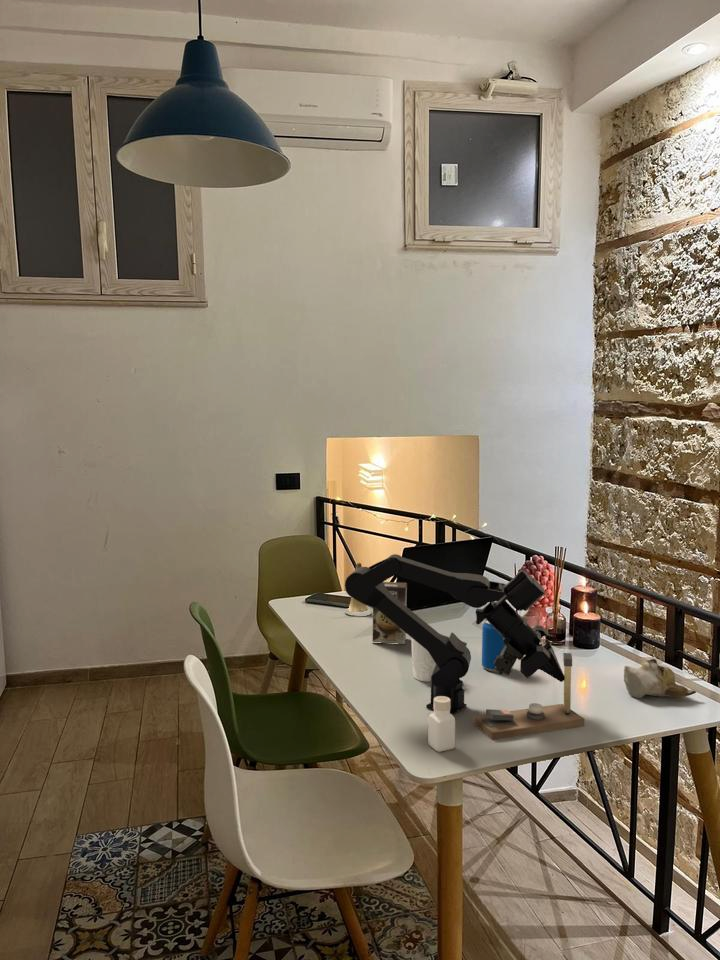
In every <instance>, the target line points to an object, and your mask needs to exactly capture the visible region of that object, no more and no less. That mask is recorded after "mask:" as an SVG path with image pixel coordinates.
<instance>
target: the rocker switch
mask: <svg viewBox="0 0 720 960" xmlns="http://www.w3.org/2000/svg"><path fill="white" fill-rule="evenodd" d="M509 711H510V710H507V709H491V708H490V709H488V708H487V709H486V708H485V714H484V715H487V716H488V717H489V718H491V719H492V720H513V717H514V715H512V714H511V713H510V712H509Z"/></svg>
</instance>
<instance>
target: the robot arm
mask: <svg viewBox="0 0 720 960" xmlns="http://www.w3.org/2000/svg"><path fill="white" fill-rule="evenodd" d="M355 569H356V568H355ZM355 569H354V571H352V572H351V573H350V574H349V575H348V576H347V577H346V579H345V581H344V589H345V592H346V594H347V595H348V596H349V598H350V597H352V598H354V599H355V600H357V601H359V602H361V603H362V604H365V605H367V607H370V608H372V609H373V608H376V609H377V610H379V611H380V612H381V613H382V614H384V615H385V616H386V617H387V618H388V619H390V620H391V621H392V622H393V623H395V624H396V625H397V626H398V627H399V628H401V629H402V630H403V631H404V632H405V633H406V635H408V636H409V637H410V638H411V637H412V638H413V639H414V640H415V641H416V642H418V643H419V644H420V645H421V646H422V647H424V648H425V649H426V650H427V651H428V652H429V654H430V655H431V657H432V658H433V660H434V662H435V663H436V665H435V668H434V671H433V673H432V676H431V682H430V702H429V703H427V704H426V708H427V709H429V710H433V711H434V708H433V704H434V698H435V697H437V696H445V697H448V698H450V700H451V703H450V704H451V705H450V706H451V707H450V714H451V715H452V716H453V715H454V714H456V713H458V712H459V711H461V710H463V709H465V708H467V704H466V703H465V688H464V681H463V680H461V679H462V678H463V677H465V676H466V675H467V673H468V672H469V668H470V664H471V660H472V655H471V654H472V653H471V651H470V649H469V648H468V646H467V644H468V643H467V642H465V641H462V640H461V639H460V638H459V637H458V636H457V635H456V634H455V633H454V632H450V634H449V635H448V636H446V635H444V634H442V635H441V633H439V632H438V631H437V630H436V629H435V628H434V627H432V626H431V625H430V624H429V623H427V622H426V621H425V620H423V619H422V618H421V617H420V616H418V615H417V614H416V613H414V612H413V610H411V608H409V607H408V606H407V605H406V606H405V605H404V604H402V603H401V602H400V601H399V600H398V599H396V598H395V597H394V596H393V595H391V594H390V593H389V591H388V590H387V588H386V587H385V585H384V583H383V582H386V581H387V580H388V579H390V578H392V577H398V578H401V579H404V580H408V581H411V582H412V583H413V582H414V583H417V584H420V585H424V586H426V587H430V588H433V589H436V590H438V591H442V592H445V593H447V594H449V595H451V597H453V598H455V599H456V600H457V601H459V602H462V603H463V604H464V605H467V606H468V607H471V608H474V609H475V608H476V609H475V617H476V620H475V624H476V625H480V624H481V623H482V622H483V621H484V620H485V619H486V620H487V621H488V622H489V623H490V624H491V625H492V626H493V627H494V628H495V629H496V630H497V631H498V632H499V634H500V635H501V636H502V637H503V643H504V644H505V646H504V648H503V650H502V652H501V654H500V655H499V656H497V658H496V660H495V661H494V665H495V669H496V670H497V671H498V674H500V675H503V674H504V675H505V676H510V675H511V673H512V669H513V667H514V665H515V663H516V661H517V660H518V661H520V666H519V667H520V669H519V671H520V673H521V674H522V675H523V676H524V677H525V678H526V679H529V678H530V677H532V676H533V675H534V674H535V673H536V672H538V670H540V671H542V672H544V673H545V674H548V675H549V676H550V677H552V678H554V679H555V680H557V681H559V682H560V683H562V682H564V680H565V677H564V671H563V670H562V668H561V665H560V663H559V661H558V660H559V659H558V657H557V655H556V653H555V650H554V648H553V646H552V642H551V641H548V642H546V643H545V644H543V643H541V641H542V638H543V637H545V638H548V637H549V631H548V630H547V629H546V628H545V627H544V626H543V625H535V626H534V627H532V626H531V625H530V624H529V623H528V619H527V618H526V617H525V616H521V615H520V614H519V613H518V611H520V612H521V611H524V612H525V611H528V610H529V609H530V608H531V607H532V606H534V604H535V603H537V602H538V601H539V600H540V599H542V597H543V596H545V595H546V594H547V592H546V589H544V587H543V585H541V583H540V582H539V581H538V580H537V579H536V578H535V577H533V576H532V575H530V574H529V573H527V572H526V571H525V570H524V569H520V570H519V571H518V572H517V574H516V575H515V576H514V577H513V578H512V579H511V580H509V582H507V583H503V582H497V581H493V580H489V578H487V577H486V576H484V575H481V574H476V573H470V572H469V573H466V572H452V571H448V570H445V569H442V568H439V567H435V566H431V565H428V564H426V563H423V562H419V561H416V560H413V559H410V558H406V557H404V556H401V555H399V554H397V553H393V554H390V556H388V557H387V558H385V559H383V560H380V561H379V562H376V563H374V564H372V565H369V567H368V566H362V567H359V568H357V569H356V570H355Z"/></svg>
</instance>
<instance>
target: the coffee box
mask: <svg viewBox="0 0 720 960" xmlns="http://www.w3.org/2000/svg"><path fill="white" fill-rule="evenodd" d="M383 583H384V585H385V587H386V588H387V590H388V591H389V593H390V594H391V595H393V596H394V597H395V598H396V599H398V600H399V601H400V602H401V603H402V604H404V605H405V606H406V607H407V594H408V593H407V592H408V591H407V590H408V583H407V582H398V581H397V582H393V581H384V582H383ZM405 640H407V633H405V632H404V631H403V630H402V629H401V628H399V627H398V626H397V625H396V624H395V623H393V622H392V621H391V620H390V619H388V618H387V617H386V616H385V615H384V614H382V613H381V612H380V611H379V610H377V609H376V608H373V607H372V640H371V641H372V642H381V643H398V644H406V641H405ZM372 642H371V643H372Z"/></svg>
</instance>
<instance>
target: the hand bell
mask: <svg viewBox="0 0 720 960" xmlns="http://www.w3.org/2000/svg"><path fill="white" fill-rule="evenodd" d="M359 567H363V566H362V562H357V563H356V566H355V569H354V571H355V570H356V569H357V568H359ZM348 607H349V608H347V609H349V611H351V612H364V611H367V610H368V609H369V606H368V605H365V604H362V603H361V602H359V601H357V600H355V599H354V598H352V597H351V598H350V602H349V606H348Z"/></svg>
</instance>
